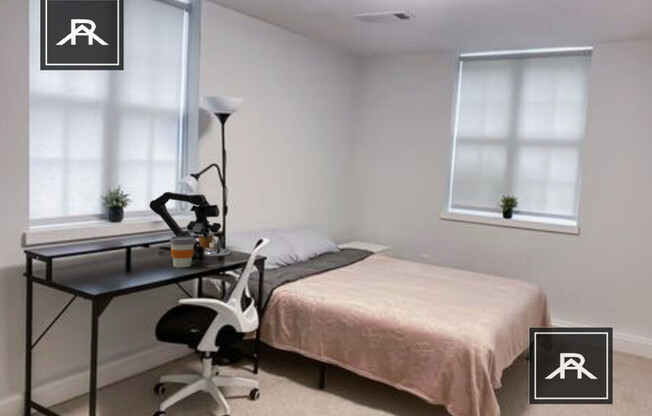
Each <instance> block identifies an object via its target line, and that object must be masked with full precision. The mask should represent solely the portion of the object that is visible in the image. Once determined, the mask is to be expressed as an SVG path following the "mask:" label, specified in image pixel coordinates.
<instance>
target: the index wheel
mask: <svg viewBox="0 0 652 416" xmlns="http://www.w3.org/2000/svg"><path fill="white" fill-rule="evenodd" d="M215 242H216V249H210V248H206V249H205V250H204V255H205V256H208V257H209V256H210V257H224V256H228V255H230V254H231V250H230V249H229V248H228V247H226V248H225V247H224V248H222V246H221V239H220V238H216V241H215Z"/></svg>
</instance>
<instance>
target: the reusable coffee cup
mask: <svg viewBox="0 0 652 416" xmlns="http://www.w3.org/2000/svg"><path fill="white" fill-rule="evenodd" d="M169 244H170V255H171V258H172V262H173V264H172V265H173V267H174V268H189V267H191V266H192V260H193V257H194V253H195V252H194V251H195V248H194V245H195V237H194V236H192V237H189V236H177V237H176V236H171V237H170V242H169Z"/></svg>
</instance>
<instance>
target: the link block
mask: <svg viewBox="0 0 652 416" xmlns="http://www.w3.org/2000/svg"><path fill="white" fill-rule="evenodd" d="M210 249H216V241H212V243H210Z"/></svg>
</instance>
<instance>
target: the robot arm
mask: <svg viewBox="0 0 652 416" xmlns="http://www.w3.org/2000/svg"><path fill="white" fill-rule="evenodd" d="M170 200H173V201H179V202H186V203H189V204H191V205H192V206H191V208H190V210H189V211H190V212H194V215H195V218H196V219H195V220H191V221H189V223H188V224H187V225H186V229H187V231H184V230H183V229H182V228H181V227H180V225H179V224H178V222H176V220H175V219H174V218H173V216H172V215H171V214H170V212H168V209H167V205H166V204H167V203H168V202H169V201H170ZM148 205H149V209H150V210H151V211H153V213H155V214H157V215H158V216H160V218H161V219H162V220H163V222H164V223H166V225H167V226H168V228H169V229H170V230H171V232H172V233H173V234H174V235H175V237H177V236H189V237H193V235H191V233H190V232H189V231H192V232H193V233H194V235H198V236H199V235H202V234H203V236H204V237H205V238H206V239H208V236H209V232H210V231H211V232H213V233H214V234H217V233H218V232H219V231H220V229H221V228H222V225H221V223H219V222H213V223H210V221H209V220H208V218H219V216H220V210H219V207H218V204H210V203H209V202H208V200H207V198H206V196H205V194H199V193H198V194H184V193H178V192H171V191H165V192H164V193H163V194H161V195H159V196H158V197H157V198H155V199H153V200H151V201H150V202H149V204H148Z"/></svg>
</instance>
